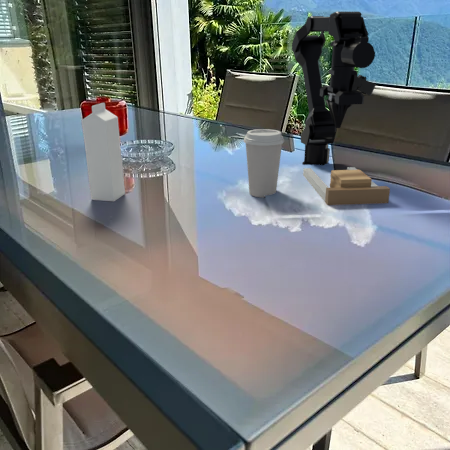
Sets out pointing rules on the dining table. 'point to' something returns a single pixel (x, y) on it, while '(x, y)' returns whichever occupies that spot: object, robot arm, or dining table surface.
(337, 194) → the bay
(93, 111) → the milk
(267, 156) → the coffee cup
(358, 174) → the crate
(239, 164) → the dining table surface
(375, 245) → the dining table surface
